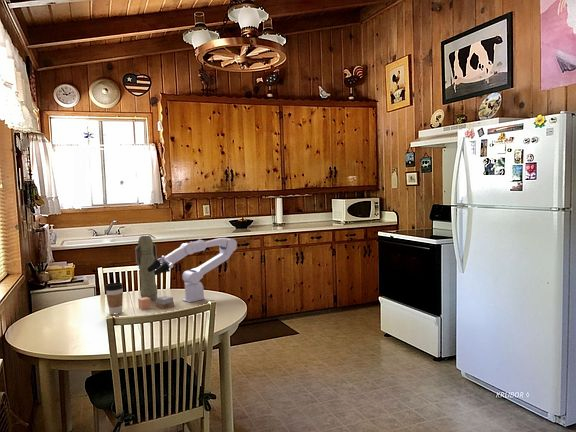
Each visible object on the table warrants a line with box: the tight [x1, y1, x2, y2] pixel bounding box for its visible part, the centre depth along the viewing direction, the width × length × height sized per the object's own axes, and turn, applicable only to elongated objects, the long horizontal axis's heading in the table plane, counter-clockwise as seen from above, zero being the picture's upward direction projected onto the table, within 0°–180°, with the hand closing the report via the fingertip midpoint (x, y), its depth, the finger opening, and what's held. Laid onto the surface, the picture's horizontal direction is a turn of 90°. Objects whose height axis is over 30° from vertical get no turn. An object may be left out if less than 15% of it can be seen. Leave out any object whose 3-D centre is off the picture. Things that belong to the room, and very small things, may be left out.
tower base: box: [154, 301, 175, 310], centre depth 239 cm, size 7×7×2 cm
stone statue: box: [134, 235, 158, 301], centre depth 254 cm, size 9×12×35 cm
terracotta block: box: [137, 297, 152, 310], centre depth 237 cm, size 4×4×5 cm
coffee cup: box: [104, 282, 124, 315], centre depth 230 cm, size 8×8×15 cm
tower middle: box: [155, 295, 174, 305], centre depth 238 cm, size 6×6×2 cm
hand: (151, 271), depth 234 cm, fingers open, 7 cm apart
